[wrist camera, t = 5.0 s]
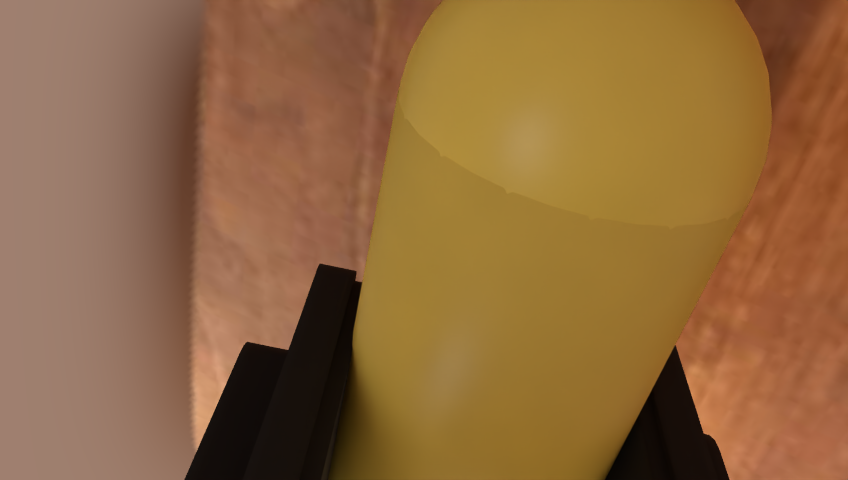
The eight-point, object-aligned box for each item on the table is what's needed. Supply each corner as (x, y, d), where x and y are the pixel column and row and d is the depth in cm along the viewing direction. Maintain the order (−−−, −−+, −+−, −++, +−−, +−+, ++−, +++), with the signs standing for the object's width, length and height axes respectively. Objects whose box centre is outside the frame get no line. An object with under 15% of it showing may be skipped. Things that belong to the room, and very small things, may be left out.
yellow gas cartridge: (417, -134, 7) (469, -48, 4) (731, -69, 8) (955, 44, 5) (292, 592, 15) (281, 804, 12) (461, 594, 16) (491, 794, 13)
